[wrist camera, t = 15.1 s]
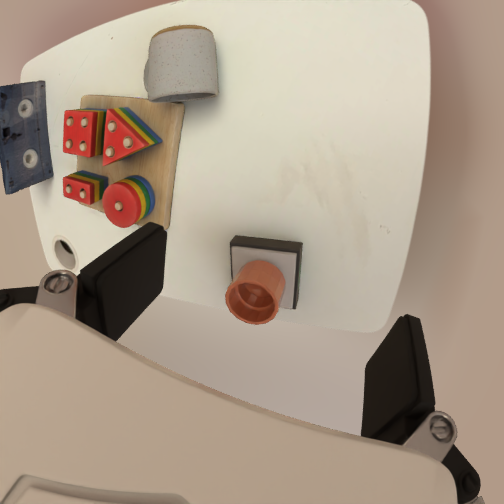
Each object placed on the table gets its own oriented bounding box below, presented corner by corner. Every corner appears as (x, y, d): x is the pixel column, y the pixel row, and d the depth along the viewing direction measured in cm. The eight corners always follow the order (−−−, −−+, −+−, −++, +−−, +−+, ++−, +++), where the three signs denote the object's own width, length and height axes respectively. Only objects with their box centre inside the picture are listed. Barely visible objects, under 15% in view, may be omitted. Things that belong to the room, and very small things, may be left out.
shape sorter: (88, 94, 35) (59, 97, 29) (186, 103, 32) (159, 104, 27) (84, 200, 43) (58, 213, 38) (169, 229, 41) (145, 248, 36)
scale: (303, 242, 36) (300, 252, 34) (298, 300, 40) (295, 312, 38) (235, 235, 38) (227, 244, 36) (237, 291, 42) (231, 302, 40)
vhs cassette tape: (38, 83, 36) (-6, 89, 27) (46, 79, 35) (1, 84, 26) (45, 177, 44) (4, 195, 35) (54, 177, 43) (11, 195, 35)
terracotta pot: (296, 284, 36) (289, 309, 32) (262, 307, 39) (251, 331, 34) (262, 248, 35) (250, 269, 31) (229, 275, 38) (215, 297, 34)
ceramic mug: (224, 32, 27) (193, 15, 20) (229, 95, 30) (198, 93, 24) (148, 51, 30) (109, 45, 23) (153, 108, 34) (113, 112, 27)
